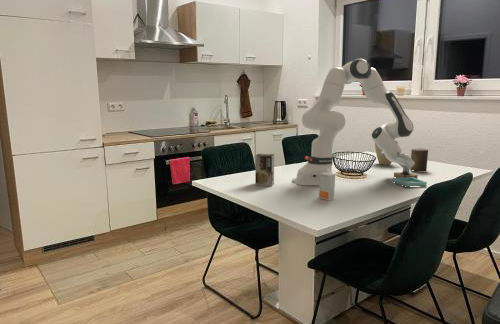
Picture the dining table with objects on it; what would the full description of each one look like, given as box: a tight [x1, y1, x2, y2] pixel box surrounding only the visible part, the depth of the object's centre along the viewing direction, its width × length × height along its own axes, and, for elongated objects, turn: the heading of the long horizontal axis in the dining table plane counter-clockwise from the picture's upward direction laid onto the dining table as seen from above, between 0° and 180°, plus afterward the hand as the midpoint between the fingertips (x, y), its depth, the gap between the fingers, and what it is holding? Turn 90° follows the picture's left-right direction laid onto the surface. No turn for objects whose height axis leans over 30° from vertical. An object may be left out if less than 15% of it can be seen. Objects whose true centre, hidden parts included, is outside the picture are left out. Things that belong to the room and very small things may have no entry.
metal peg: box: [401, 166, 410, 175], centre depth 219 cm, size 4×4×12 cm
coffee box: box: [254, 153, 275, 187], centre depth 204 cm, size 9×6×16 cm
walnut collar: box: [393, 171, 419, 179], centre depth 220 cm, size 9×9×3 cm
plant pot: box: [374, 140, 399, 166], centre depth 261 cm, size 15×15×16 cm
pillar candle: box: [409, 147, 429, 172], centre depth 241 cm, size 10×10×15 cm
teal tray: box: [392, 177, 427, 187], centre depth 207 cm, size 12×12×2 cm
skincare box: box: [318, 172, 336, 201], centre depth 179 cm, size 6×4×12 cm
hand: (407, 168), depth 219 cm, fingers closed on metal peg, 3 cm apart
